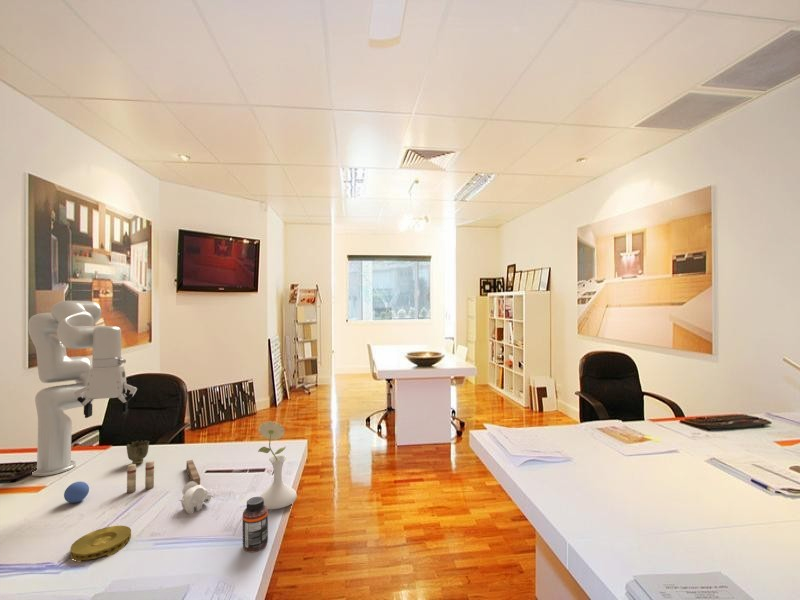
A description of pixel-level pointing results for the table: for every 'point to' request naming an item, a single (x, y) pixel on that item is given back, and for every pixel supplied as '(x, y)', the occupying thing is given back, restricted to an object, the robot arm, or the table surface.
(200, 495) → the elephant figurine
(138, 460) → the cup
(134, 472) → the front pin
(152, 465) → the rear pin
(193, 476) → the wooden plank
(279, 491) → the flower in vase
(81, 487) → the ball
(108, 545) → the gold brake disc
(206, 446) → the table surface
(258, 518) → the supplement bottle
